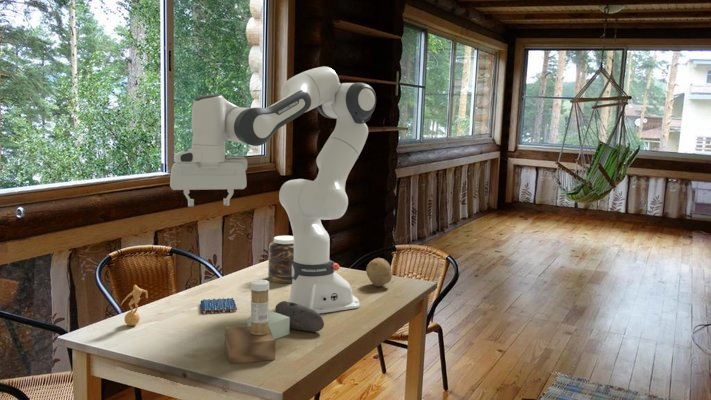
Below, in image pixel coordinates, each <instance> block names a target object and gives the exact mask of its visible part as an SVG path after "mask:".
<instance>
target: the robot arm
mask: <svg viewBox="0 0 711 400" xmlns="http://www.w3.org/2000/svg"><path fill="white" fill-rule="evenodd" d="M376 94H377V93H376V92H375V90H374V88H373V87H372V86H371V85H369V84H367V83H365V82H342V83H341V82H340V78H339V76H338V74H337V73H336V71H335V70H334V69H332V68H331V67H329V66H319V67H314V68H311V69H308V70H305V71H302V72H300V73H298V74H295V75H294V76H292V77H290V78H289V79H287V80H286V81H285V82H283V84H282V85H281V89H280V96H281V97H280V98H281V99H280V100H278V101H276V102H275V103H273V104H271V105H269V106H267V107H240V106H238V105H236V104H234V103H232V102H230V101H228V100H227V99H226V98H225V97H224V96H223V95H222V94H220V93H212V94H211V93H210V94H202V95H199V96H197V97H196V98H195V99H194V100H193V103H192V109H191V131H192V140H191V147H190V148H188V149H184V150H181V151H179V152H176V153H175V154H174V161H175V162H174V163H173V164H172V166H171V169H170V177H169V179H170V180H169V186H170V188H171V190H173V191H183V195H184V196H185V198H186V199H187V206H188V207H195V203H194V202H195V199H194V198H190V196H189V194H190V190H192V191H193V190H194V191H197V190H198V191H200V190H227V193H228V195H227V196H226V198H223V206H226V207H228V206H230V200H231V198H232V196H234V193H235V191H234V190H244V189H245V188H247V182H248V181H247V174H246V171H247V170H248V159H247V158H246V157H245V156H242V155H241V154H236V155H232V154H226V141H229V142H233V143H239V144H245V145H249V146H252V147H260V146H263V145H264V144H266V143H267V142H268V141H269V140H270V139H272V137H273V136H274V135H275V133H276V132H277V131H278V130H279V129H281V128H282V127H283V126H285V125H287V124H288V123H290V122H292V121H294V120H295V119H297V118H299V117H300V116H302V115H303V114H304V113H307V112H309V111H311V110H313V109H315V108H316V109H317V111H318V113H319V114H320V115H322V116H323V117H325V118H328V119H333V120H336V123H335V127H334V130H333V131H332V132H331V134H330V136H329V137H328V139H327V140H326V141H325V143H324V145H323V147H322V148H321V150H320V152H319V153H318V155H317V157H316V160H315V161H316V162H315V163H316V165H317V168H318V173H317V176H316V178H315V179H314V180H310V179H304V178H297V179H290V180H288V181H285V182H284V183H283V184H282V185H281V187H280V189H279V193H278V199H279V203H280V205H281V206H282V207H283V208H284V210H285V211H286V214H287V216H288V220H289V222H290V226H291V227H290V228H291V230H292V236H293V238H294V259H293V260H292V278H293V280H292V283H291V289H290V294H289V298H288V301H287V302H291V303H296V304H299V305H302V306H305V307H308V308H310V309H312V310H314V311H316V312H317V313H318V314H320V315H321V314H326V313H334V312H341V311H346V310H352V309H353V310H354V309H358V308H359V307H360V303H361V302H360V300H359V299H358V297H356V296H355V295H354V294H353V290H352V289H353V288H352V285H351V284H350V283H349V281H347V280H346V279H345V278H344V277H343V276H341V275H340V274H338V273H337V272H336V271H339V270H340V268H341V267H340V265H339V263H337V262H334V261H333V260H331V259H330V247H331V246H330V243H331V242H330V240H331V239H330V234H329V233H328V231H327V230H326V229H325V227H324V226H323V224H322V220H323V221H326V220H327V221H328V220H332V221H333V220H337V219H341V218H342V217H343V216H344V215H345V213H346V212H347V210H348V206H349V197H348V195H347V193H346V183H347V182H346V181H347V179H348V176H349V174H350V172H351V170H352V168H353V167H354V165H355V163H356V162H357V160H358V159H359V156H360V154H361V152H362V150H363V148H364V146H365V144H366V141H367V139H368V135H369V127H368V125H367V124H366V123H367V122H369V121H370V120H371V118H372V114H373V112H374V111H375V108H376V104H377V96H376Z"/></svg>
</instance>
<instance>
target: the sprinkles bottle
mask: <svg viewBox="0 0 711 400" xmlns="http://www.w3.org/2000/svg"><path fill="white" fill-rule="evenodd" d="M269 290H270V280H266V279H261V278H260V279H253V280H252V281H250V292H251V295H250V296H251V301H250V316H251V333H252V334H253V335H258V336H262V335H266V334H267V333H268V332H269V330H268V319H269V311H270V310H269V309H270V308H269V292H270V291H269Z"/></svg>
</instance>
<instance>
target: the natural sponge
mask: <svg viewBox="0 0 711 400" xmlns="http://www.w3.org/2000/svg"><path fill="white" fill-rule="evenodd" d="M365 271H366V276H367V277H368V279H369V281H370V283H372V284H373V286H375V287H380V288H381V287H383V286H384V285H386V284H388V283H390V282H391V280H392V276H393V275H392V274H393V273H392V267H391V265H390V263H389V262H388V261H387V260H386V259H385V258H381V257H377V258H376V257H375V258H374V259H372V260H370V261H369V263H368V264H367V266H366V269H365Z"/></svg>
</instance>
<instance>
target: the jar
mask: <svg viewBox="0 0 711 400" xmlns="http://www.w3.org/2000/svg"><path fill="white" fill-rule="evenodd" d="M293 259H294V238H293V235H276V236H274V237H273V241H272V242H270V243H269V246H268V265H267V266H268V267H267V268H268V274H267V275H268V281H269V282H273V283H278V284H292V280H293V278H292V260H293Z"/></svg>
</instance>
